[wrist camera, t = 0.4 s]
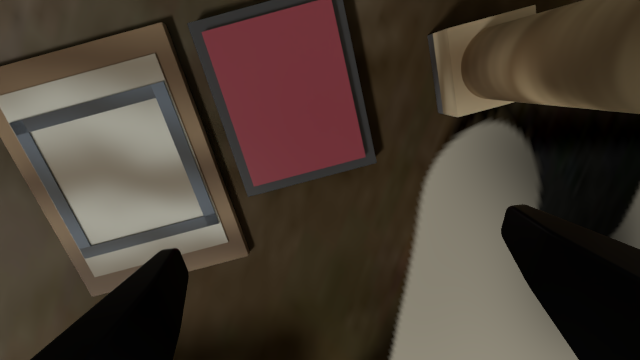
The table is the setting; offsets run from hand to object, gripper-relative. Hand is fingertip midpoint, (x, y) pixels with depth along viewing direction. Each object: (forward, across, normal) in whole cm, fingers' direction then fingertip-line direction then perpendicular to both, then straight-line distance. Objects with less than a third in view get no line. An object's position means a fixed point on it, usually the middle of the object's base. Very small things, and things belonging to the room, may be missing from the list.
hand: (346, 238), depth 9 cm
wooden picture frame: (+13, +13, +4) cm, 19 cm away
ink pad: (+14, +1, 0) cm, 14 cm away
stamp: (+14, -11, -1) cm, 18 cm away
